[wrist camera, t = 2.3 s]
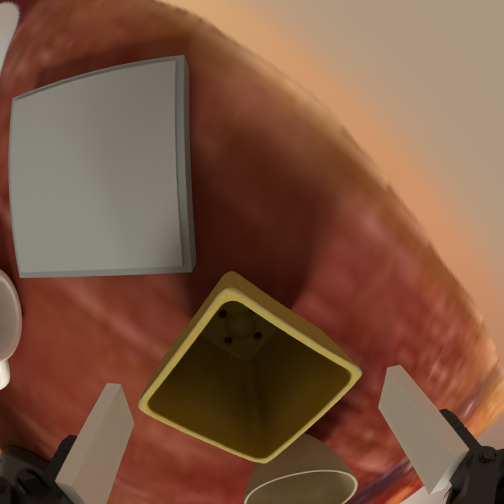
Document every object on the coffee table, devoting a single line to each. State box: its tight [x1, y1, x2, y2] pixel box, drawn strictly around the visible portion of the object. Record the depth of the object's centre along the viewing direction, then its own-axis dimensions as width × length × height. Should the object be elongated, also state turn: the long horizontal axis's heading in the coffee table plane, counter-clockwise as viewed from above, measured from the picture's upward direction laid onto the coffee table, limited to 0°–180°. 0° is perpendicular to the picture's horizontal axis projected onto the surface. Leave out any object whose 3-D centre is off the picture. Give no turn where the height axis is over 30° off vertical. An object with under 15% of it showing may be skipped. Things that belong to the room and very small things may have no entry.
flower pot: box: [138, 271, 362, 463], centre depth 18 cm, size 9×9×9 cm
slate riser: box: [9, 55, 197, 278], centre depth 18 cm, size 14×14×3 cm
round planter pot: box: [244, 433, 358, 504], centre depth 22 cm, size 10×10×7 cm
